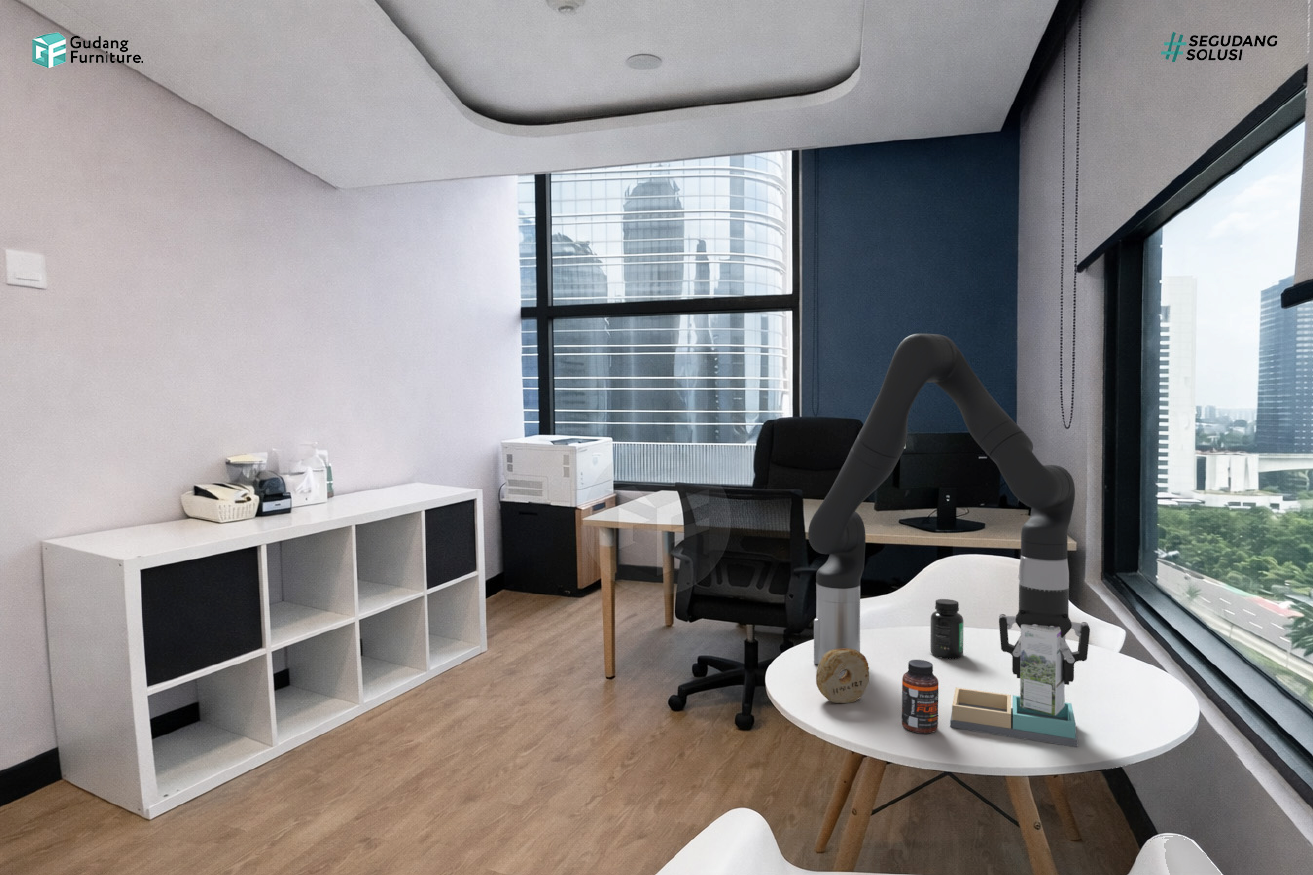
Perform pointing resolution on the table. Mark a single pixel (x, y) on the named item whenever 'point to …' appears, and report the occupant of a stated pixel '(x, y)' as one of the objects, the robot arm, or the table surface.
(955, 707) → the teal and wood tray
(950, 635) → the supplement bottle
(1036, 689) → the syrup box
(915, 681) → the supplement bottle
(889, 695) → the table surface
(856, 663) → the stone disc
